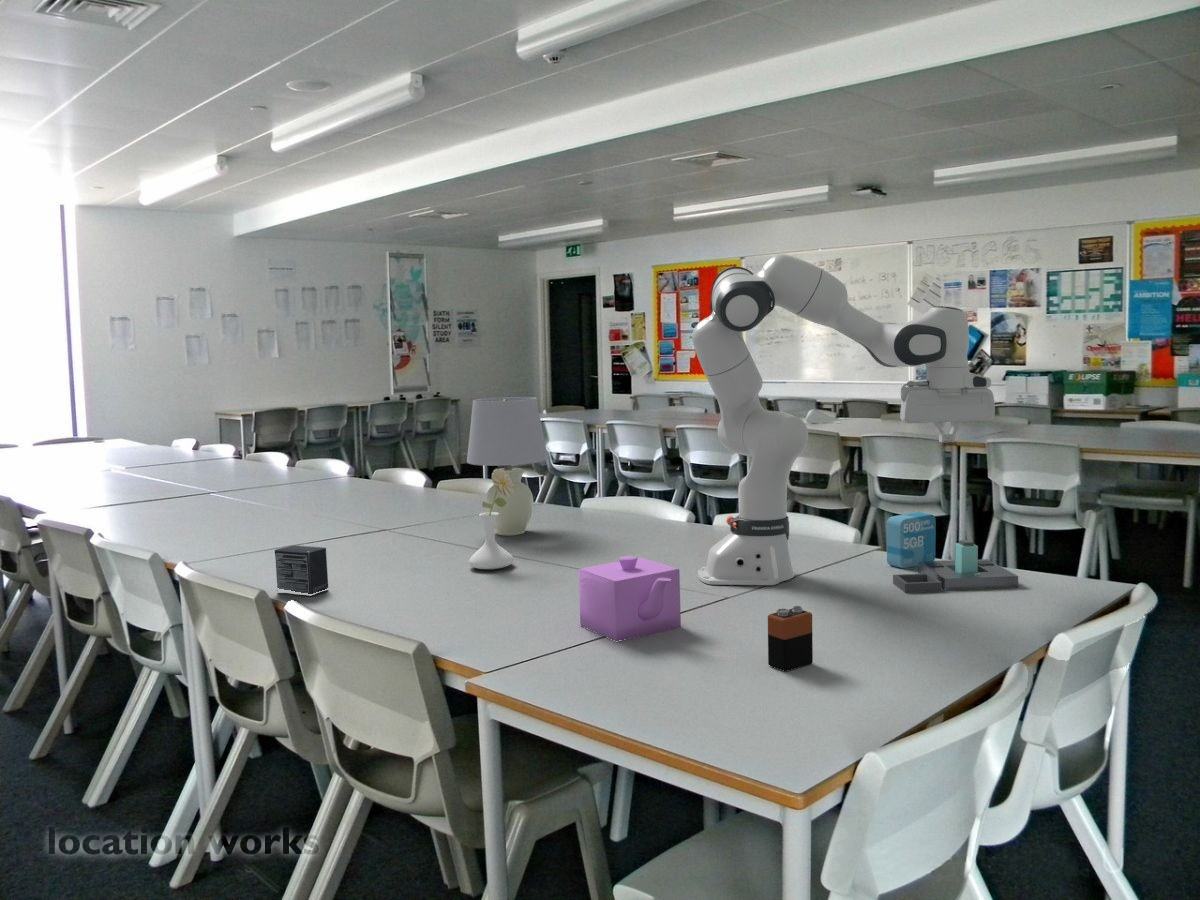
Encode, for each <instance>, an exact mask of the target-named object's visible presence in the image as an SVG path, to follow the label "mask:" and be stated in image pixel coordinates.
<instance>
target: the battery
mask: <svg viewBox="0 0 1200 900" xmlns="http://www.w3.org/2000/svg"><path fill="white" fill-rule="evenodd" d="M813 647H814V646H813V613H812V612H810V611H807V610H803V607H802V606H799V605H795V606H794V605H793V607H792V608H785V607H784V608H777V609H776V612H772V613H769V614H768V615H767V658H768V659H767V662H768V663H767V664H768V666H769V665H770V666H769V667H771V666H772V668H774V667H775V668H774V669H777V668H778V669H777V670H779V669H781V670H780V671H782V670H784V671H783V672H785V671H786V672H788V671H787V670H790V671H792V670H791V669H793V670H795V669H794V668H796V669H799V668H798V667H800V668H802V666H803V667H805V665H806V666H809V664H810V665H812V664H813V662H814V661H813V660H814V659H813V658H814V655H813V654H814V651H813Z"/></svg>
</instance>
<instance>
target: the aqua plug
mask: <svg viewBox="0 0 1200 900" xmlns="http://www.w3.org/2000/svg"><path fill="white" fill-rule="evenodd" d="M978 549H979V546H978V545H976V544H975V542H974V541H973V540H971V539H965V540H964V539H961V540H960V539H959V540H958V542H956V543H955V549H954V550H955V552H954V553H955V559H954V560H955V572H957V573H970V572H978V559H979V553H978V552H979V550H978Z"/></svg>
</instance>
